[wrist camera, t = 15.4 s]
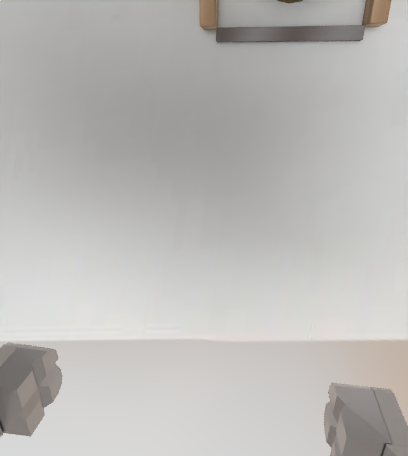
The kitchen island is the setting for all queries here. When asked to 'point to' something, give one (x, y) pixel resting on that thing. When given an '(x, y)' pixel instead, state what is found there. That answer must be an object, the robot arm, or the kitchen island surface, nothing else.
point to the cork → (290, 1)
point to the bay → (373, 17)
